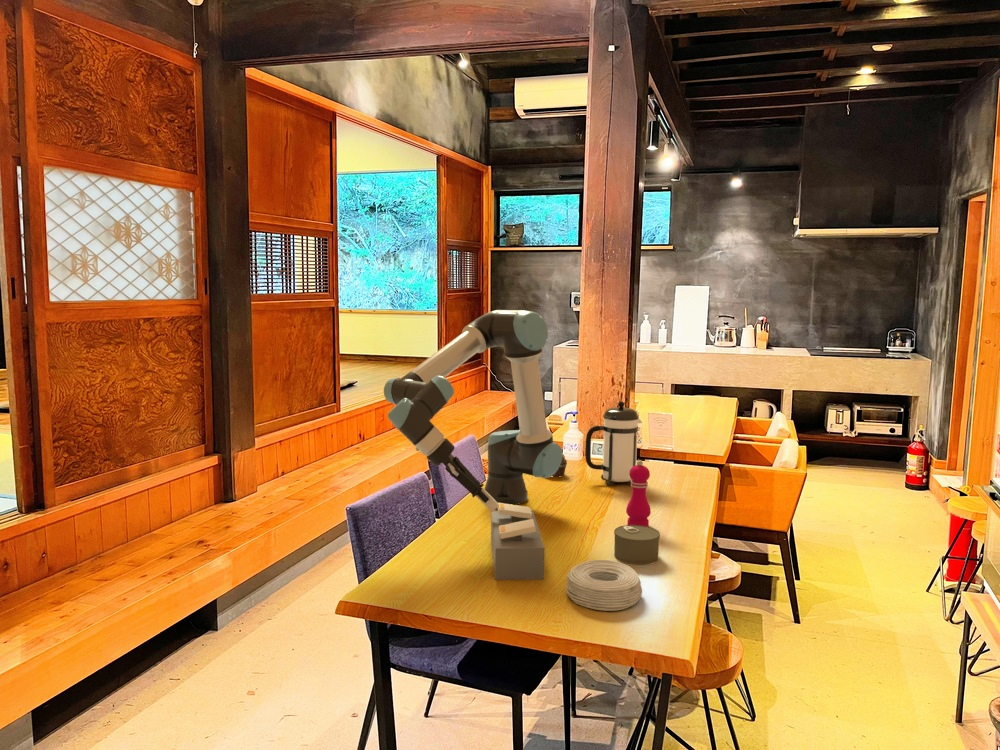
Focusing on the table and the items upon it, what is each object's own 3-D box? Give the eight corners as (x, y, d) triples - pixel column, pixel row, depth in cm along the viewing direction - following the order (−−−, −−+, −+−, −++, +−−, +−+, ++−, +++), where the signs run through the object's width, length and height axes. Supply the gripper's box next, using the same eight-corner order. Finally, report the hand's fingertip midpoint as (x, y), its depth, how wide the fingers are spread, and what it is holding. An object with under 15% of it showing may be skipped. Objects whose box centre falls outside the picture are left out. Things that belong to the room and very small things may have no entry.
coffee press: (612, 474, 284) (614, 396, 280) (647, 482, 273) (650, 401, 269) (583, 482, 272) (585, 401, 268) (619, 491, 261) (621, 406, 257)
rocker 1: (497, 507, 207) (498, 502, 206) (529, 512, 207) (530, 506, 207) (498, 514, 201) (499, 508, 200) (531, 518, 201) (532, 513, 201)
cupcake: (539, 472, 287) (539, 446, 285) (564, 471, 288) (564, 446, 286) (543, 478, 277) (543, 452, 276) (568, 478, 278) (569, 451, 277)
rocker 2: (499, 531, 192) (498, 525, 192) (533, 523, 192) (532, 518, 192) (501, 539, 186) (499, 533, 186) (536, 531, 186) (535, 525, 186)
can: (629, 568, 191) (630, 542, 190) (604, 552, 202) (605, 528, 201) (668, 561, 196) (669, 536, 195) (642, 546, 207) (642, 522, 206)
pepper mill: (650, 529, 220) (652, 463, 218) (625, 528, 222) (627, 462, 219) (650, 522, 227) (652, 458, 225) (626, 520, 229) (628, 456, 226)
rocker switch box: (490, 531, 218) (490, 500, 217) (531, 530, 219) (531, 500, 218) (495, 579, 183) (495, 543, 181) (544, 579, 183) (544, 543, 182)
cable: (608, 577, 186) (609, 553, 185) (658, 602, 171) (659, 577, 170) (551, 592, 176) (552, 567, 176) (599, 620, 162) (599, 593, 161)
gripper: (426, 451, 207) (484, 510, 210) (423, 462, 194) (486, 524, 197) (446, 432, 207) (504, 492, 210) (444, 442, 194) (506, 505, 197)
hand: (495, 508), depth 203 cm, fingers closed
